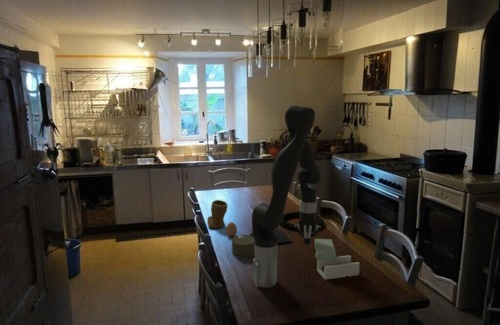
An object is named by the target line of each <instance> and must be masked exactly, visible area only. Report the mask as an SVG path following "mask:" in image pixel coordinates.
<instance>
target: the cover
mask: <svg viewBox="0 0 500 325" xmlns="http://www.w3.org/2000/svg"><path fill="white" fill-rule="evenodd" d="M314 248H315V258H314V259H316V260H317V259H336V257H337V252H336V249H335V246H334V243H333V239H327V238H314Z"/></svg>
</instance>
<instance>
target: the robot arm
mask: <svg viewBox="0 0 500 325" xmlns="http://www.w3.org/2000/svg"><path fill="white" fill-rule="evenodd" d="M284 120H285V125H286V127H287V130H288V132H289V135H290V138H291V141H290V142H289V143H288V144H287V145H286V146H285V147H283V148H282V149H281V150H280V151H279V152H278V154H277V155H276V157H275V159H274V162H273V165H272V168H271V185H272V195H271V198H270V202H269V204H266V203H263V202H262V203H258V204H257V205H256V206H255V207H254V208H253V211H252V213H251V214H252V215H251V227H252V229H251V231H252V236H253V237H254V240H255V255H254V258H253V259H252V281H253V282H254V285H255V286H256V288H264V289H268V288H269V289H270V288H273V287H274V286H276V284H277V282H278V281H277V278H278V274H277V272H278V237H277V235H276V234H275V232H274V231H276V230H277V229H278V227H279V226H281V225H280V223H281V220H282V217H283V214H285V207H286V203H287V198H288V195H289V192H290V189H291V185H292V182H293V180H294V177H295V174H296V171H297V168H298V166H300V168H299V169H298V172H297V180H298V183H299V188H300V204H299V212H300V217H299V220H298V223H297V224H295V227H294V228H295V229H296V231H295V232H297V234H299V236H300V237H301V238H303V244H304V245H305V246H309V245H310V244H311V238H315V237H316V235H318V234H319V232H320V231H322V227H321V226H318V225H317V223H318V221H316V212H317V209H318V208H317V190H316V189H315V188H313V187H311V186H309V185H308V184H312V185H317V184H319V183H320V182H321V181H322V180H321V178H322V174H321V170H320V168H319V167H318V164H317V162H316V161H315V154H314V150H313V147H312V145H311V144H310V142H309V141H308V137H309V135H310V133H311V131H312V128H313V126H314V123H315V120H316V113H315V109H313V108H311V107H307V106H299V105H291V106H288V107H287V109H286V111H285V114H284ZM300 227H301V228H302V230H304V231H301V230H300ZM315 227H316V230H313V229H314V228H315ZM312 230H313V232H312Z"/></svg>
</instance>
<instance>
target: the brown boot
mask: <svg viewBox="0 0 500 325" xmlns="http://www.w3.org/2000/svg"><path fill="white" fill-rule="evenodd" d="M210 207H211V209H210V212H211V215H210V216H208V217H207V218H206V219H207V226H208V227H209V228H211V229H219V228H223V227H224V226H225V220H224V218H225V215H226V214H227V211H228V210H227V209H228V203H227V202H226V201H224V200H220V199H215V200H214V201H212V202H211V206H210Z"/></svg>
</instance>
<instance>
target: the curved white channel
mask: <svg viewBox="0 0 500 325" xmlns="http://www.w3.org/2000/svg"><path fill="white" fill-rule="evenodd" d="M316 262H317V263H316V264H317V266H316V271H317V272H318V274H320V276H321V277H322V278H323V279H324V280H331V279H339V278H340V279H341V278H347V277H346V276H348V277H353V276H354V277H355V276H359V275H360V264H361V263H360V262H359V261H357V262H352V256H351V255H340V256H336V259H316Z"/></svg>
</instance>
